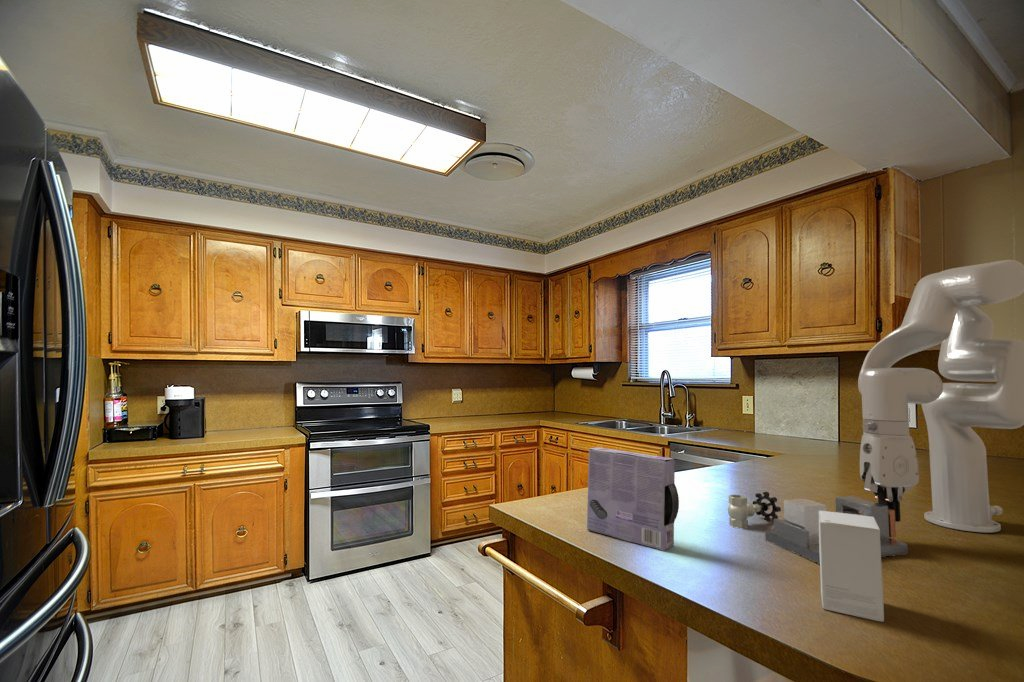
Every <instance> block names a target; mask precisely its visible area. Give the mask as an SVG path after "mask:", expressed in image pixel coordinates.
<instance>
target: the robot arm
mask: <svg viewBox="0 0 1024 682" xmlns="http://www.w3.org/2000/svg"><path fill="white" fill-rule="evenodd" d="M1023 293H1024V264H1023V263H1021V262H1020V261H1019V260H1016V259H1005V260H997V261H990V262H985V263H979V264H972V265H965V266H964V265H963V266H959V267H953V268H949V269H945V270H941V271H938V272H935V273H930V274H927V275H925V276H924V277H922V278H921V279H919V281H918V282H917V283H916V285H915V287H914V289H913V292H912V296H911V297H910V301H909V304H908V306H907V309H906V311H905V314H904V317H903V320H902V323H901V325H900V326H899V327H898V328H896V329H894V330H892V332H890V333H888V334H887V335H885V337H883V338H882V339H880V340H879V341H878V342H877V343H876V344H875V345H874V346H872V348H871V349H870V350H869V351H868V352H867V354H866V356H865V358H864V360H863V362H862V363H863V364H862V365H861V369H860V371H859V373H858V374H859V375H858V380H857V387H858V391H859V393H860V394H861V411H862V425H861V428H862V431H863V432H862V435H861V441H860V450H859V475H860V479H861V481H862V482H863V483H864V486H863V488H864V490H865V491H868V492H872V493H873V494H874V496H875V498H876V499H877V503H879V504H882V505H886V506H888V508H889V509H893V510H895V523H896V522H897V523H898V522H899V523H900V522H901V503H900V502H902V500H903V495H904V492H906V491H909V490H911V489H912V488H913V487H914V486H917V485H918V484H919V482H920V475H919V474H920V473H919V465H918V457H917V452H916V446H915V443H914V440H913V437H912V435H911V436H910V421H909V419H910V418H909V404H913V405H921V409H922V412H923V415H924V419H925V422H926V427H927V436H928V447H929V449H928V450H929V467H930V469H929V470H930V471H929V472H930V485H931V488H930V489H931V504H932V510H928V511H925V512H924V515H923V516H924V517H923V518H924V519H925V520H926V521H927V522H929V523H931V524H935V525H936V526H941V527H944V528H947V529H952V530H953V529H954V530H958V531H963V532H964V531H966V532H972V533H973V532H974V533H982V534H983V533H986V534H987V533H989V534H990V533H991V534H992V533H998V532H1001V530H1002V527H1001V524H1000V523H999V522H998V521H996V520H993V516H997V515H1002V514H1003V513H1004V509H1003V508H1002V507H1001V506H1000V505H991V504H990V495H989V494H990V493H989V481H988V480H989V479H988V477H989V476H988V465H987V464H988V462H987V460H988V459H987V449H986V446H985V443H984V441H983V440H982V439H981V437H980V436H979V435H978V434H977V433H976V431H975V430H973V427H976V428H986V429H987V428H988V429H998V430H999V429H1001V430H1006V429H1007V430H1013V429H1014V430H1015V429H1018V428H1022V427H1023V426H1024V341H1023V340H1021V339H1018V338H993V336H994V329H995V324H994V321H993V320H992V319H991V318H990V317H989V315H988V314H987V313H986V312H984V311H983V310H981V309H980V308H978V307H979V306H988V305H995V304H999V303H1003V302H1006V301H1009V300H1012V299H1015V298H1018V297H1019V296H1021V295H1022V294H1023ZM977 306H978V307H977ZM938 345H940V350H939V353H938V354H939V356H938V361H937V367H938V372H939V374H940V375H941V376H943V378H945V379H947V380H950V381H956V382H943V381H942V379H941V377H940V376H939V374H937V373H936V372H934V371H933V370H931V369H928V368H923V367H892V366H893V365H895V364H896V363H897V362H899V361H901V360H902V359H904V358H905V357H908V356H911V355H913V354H917V353H919V352H922V351H925V350H928V349H931V348H932V347H935V346H938ZM957 381H958V382H957ZM959 381H960V382H959ZM973 382H985V383H973ZM987 382H989V383H987ZM991 382H993V383H991ZM994 382H995V383H994Z"/></svg>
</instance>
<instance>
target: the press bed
mask: <svg viewBox="0 0 1024 682" xmlns="http://www.w3.org/2000/svg"><path fill="white" fill-rule="evenodd" d="M853 510H861V511H864V516H871V517H874V518H875V520H876V522H877V525H878V527H879V529H880V544H881V557H884V556H893V555H903V556H905V555H904V554H908V555H909V553H908V552H909V551H908V543H905V542H902V541H899V540H897V539H893V538H891V537H889V522H888V506H886V505H882V504H879V503H878V502H875V501H871V500H868V499H864V498H860V497H857V496H852V495H843V496H835V512H840V511H853ZM773 527H774V528H772V529H771V528H770V529H764V530H765V531H764V532H765V533H764V534H765V541H767V540H768V541H767V542H769V541H770V543H771V542H773V543H775V544H777V545H776V546H778V545H779V546H778V547H780V546H781V547H780V548H782V547H783V548H782V549H784V548H786V549H788V550H790V551H793V552H795V553H797V554H799V555H802V556H804V557H806V558H808V559H811V560H813V561H815V562H817V563H820V554H819V544H809V531H807V530H804V529H801V528H799V527H796V526H794V525H791V524H789V523H786V522H784V520H781V519H774V520H773ZM773 543H772V544H773ZM775 544H774V545H775ZM786 549H785V550H786ZM788 550H787V551H788ZM790 551H789V552H790ZM793 552H792V553H793ZM795 553H794V554H795ZM797 554H796V555H797ZM799 555H798V556H799ZM806 558H805V559H806ZM808 559H807V560H808Z"/></svg>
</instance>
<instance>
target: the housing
mask: <svg viewBox="0 0 1024 682" xmlns="http://www.w3.org/2000/svg"><path fill="white" fill-rule="evenodd" d="M819 511H827V505H826V504H824V503H822V502H817V501H815V500H812V499H808V498H792V499H783V513H784V514H783V519H784V520H783V521H784V522H786V523H789V524H791V525H794V526H796V527H799V528H801V529H804V530H807V531H809V544H819Z"/></svg>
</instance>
